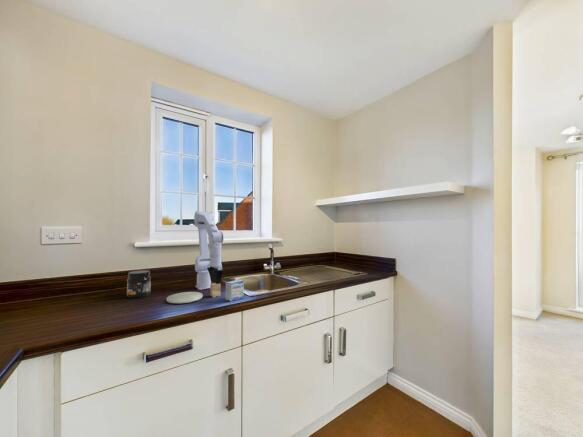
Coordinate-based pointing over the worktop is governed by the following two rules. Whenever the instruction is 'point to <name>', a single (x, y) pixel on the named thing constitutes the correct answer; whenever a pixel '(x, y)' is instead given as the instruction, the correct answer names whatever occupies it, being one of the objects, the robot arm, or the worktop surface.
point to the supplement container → (138, 284)
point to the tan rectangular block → (215, 289)
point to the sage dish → (184, 297)
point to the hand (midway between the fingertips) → (215, 282)
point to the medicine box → (234, 290)
